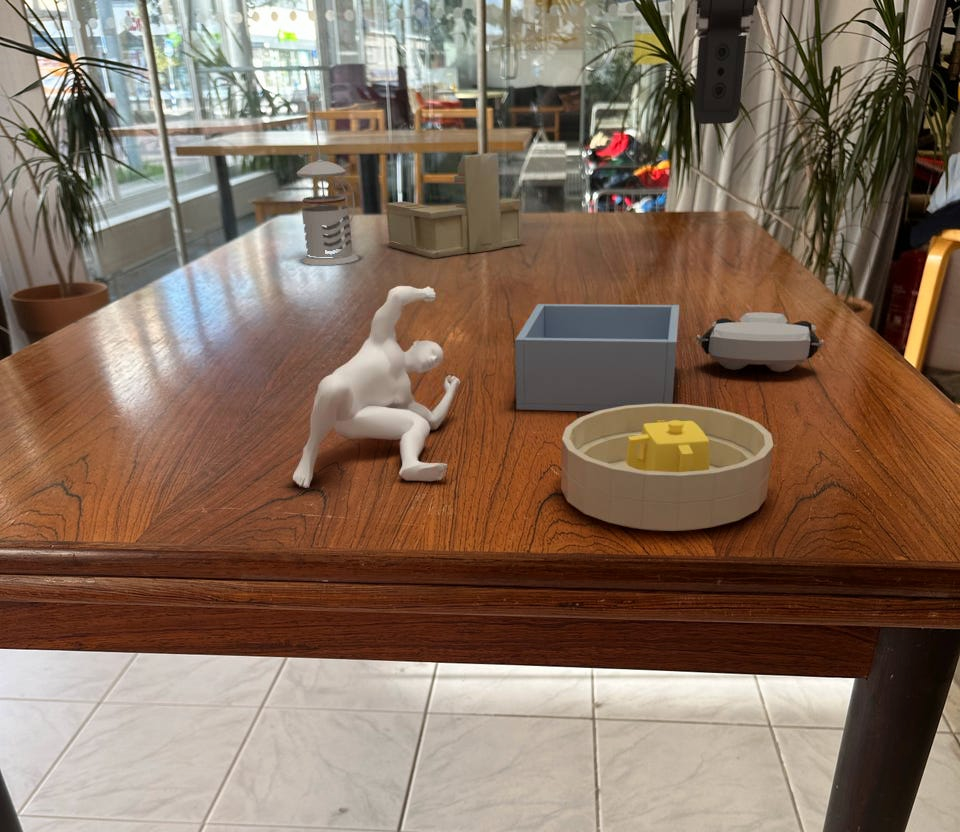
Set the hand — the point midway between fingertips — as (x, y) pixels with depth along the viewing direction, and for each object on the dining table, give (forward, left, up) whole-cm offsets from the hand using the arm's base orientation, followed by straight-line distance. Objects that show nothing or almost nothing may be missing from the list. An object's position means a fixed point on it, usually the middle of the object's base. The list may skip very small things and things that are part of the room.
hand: (714, 118), depth 51 cm
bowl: (+1, -8, -26) cm, 27 cm away
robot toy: (-8, -45, -26) cm, 53 cm away
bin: (+8, -34, -26) cm, 44 cm away
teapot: (+1, -8, -25) cm, 27 cm away
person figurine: (+25, -15, -26) cm, 39 cm away
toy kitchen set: (+41, -117, -26) cm, 127 cm away
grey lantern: (+60, -105, -26) cm, 124 cm away
